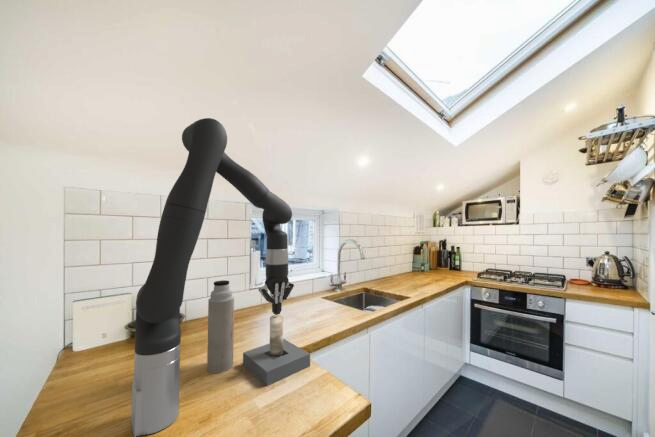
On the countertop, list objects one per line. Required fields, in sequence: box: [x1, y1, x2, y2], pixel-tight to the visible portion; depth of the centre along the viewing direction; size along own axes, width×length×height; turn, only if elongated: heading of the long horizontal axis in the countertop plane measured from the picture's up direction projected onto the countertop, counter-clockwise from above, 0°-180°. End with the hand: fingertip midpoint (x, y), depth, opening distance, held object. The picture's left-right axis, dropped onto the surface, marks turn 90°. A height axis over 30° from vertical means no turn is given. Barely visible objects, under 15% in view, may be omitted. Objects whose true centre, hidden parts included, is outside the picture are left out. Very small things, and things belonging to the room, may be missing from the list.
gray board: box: [242, 338, 311, 387], centre depth 85 cm, size 16×16×4 cm
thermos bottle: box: [206, 279, 235, 374], centre depth 85 cm, size 8×8×28 cm
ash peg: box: [269, 314, 284, 360], centre depth 86 cm, size 4×4×16 cm
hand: (276, 313), depth 86 cm, fingers closed
